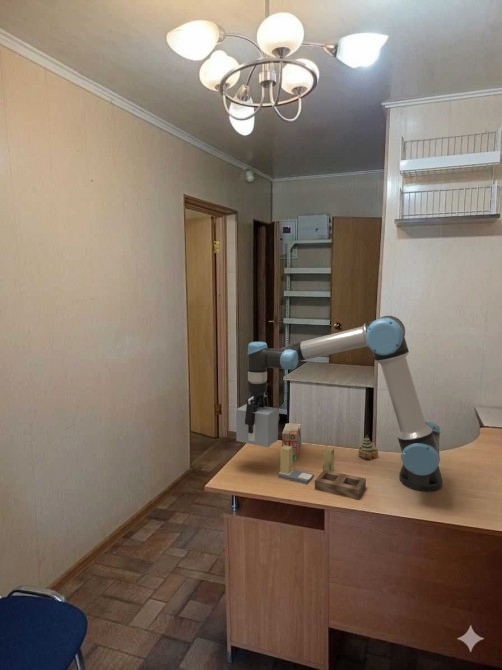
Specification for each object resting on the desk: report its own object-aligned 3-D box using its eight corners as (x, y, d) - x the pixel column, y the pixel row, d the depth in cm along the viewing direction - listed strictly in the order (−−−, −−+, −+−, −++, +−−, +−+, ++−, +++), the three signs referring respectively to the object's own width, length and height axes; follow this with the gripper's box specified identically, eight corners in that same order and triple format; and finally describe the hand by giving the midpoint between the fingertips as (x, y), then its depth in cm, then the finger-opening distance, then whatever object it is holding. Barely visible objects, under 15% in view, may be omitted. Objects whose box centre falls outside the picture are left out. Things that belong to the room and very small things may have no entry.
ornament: (369, 452, 191) (369, 430, 189) (380, 457, 186) (380, 435, 184) (356, 456, 187) (356, 434, 185) (367, 461, 181) (367, 438, 180)
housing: (277, 439, 174) (278, 408, 172) (267, 447, 166) (267, 414, 164) (247, 433, 181) (247, 403, 179) (236, 440, 173) (236, 409, 171)
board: (314, 476, 168) (314, 449, 166) (307, 484, 162) (307, 455, 160) (284, 470, 174) (285, 443, 172) (277, 477, 168) (277, 449, 166)
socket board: (365, 487, 159) (365, 478, 158) (358, 499, 150) (358, 490, 150) (323, 478, 167) (324, 469, 166) (314, 489, 158) (314, 480, 157)
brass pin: (333, 472, 172) (334, 448, 170) (331, 475, 169) (331, 451, 167) (325, 470, 173) (325, 446, 172) (322, 474, 170) (322, 449, 169)
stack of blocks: (287, 442, 204) (287, 416, 203) (301, 442, 203) (301, 417, 201) (281, 460, 183) (281, 432, 182) (296, 461, 182) (296, 433, 181)
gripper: (261, 374, 181) (261, 426, 184) (235, 386, 162) (235, 443, 165) (278, 376, 178) (277, 429, 181) (252, 388, 159) (252, 447, 162)
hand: (257, 436), depth 173 cm, fingers closed on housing, 9 cm apart
